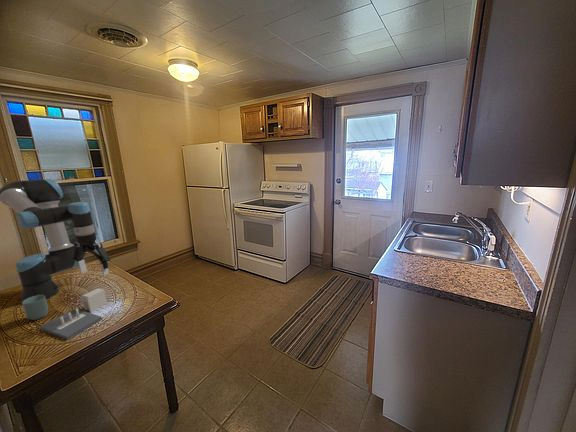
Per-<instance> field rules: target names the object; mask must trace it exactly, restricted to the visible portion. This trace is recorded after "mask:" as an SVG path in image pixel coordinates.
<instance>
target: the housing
mask: <svg viewBox="0 0 576 432" xmlns="http://www.w3.org/2000/svg"><path fill="white" fill-rule="evenodd" d="M80 298H81V303H82V306H83V311H88V313H92V312H94V311H95V310H97V309H100V308H101V307H104V306H105V305H106V304H108V301H107V296H106V292H105V289H103V288H99V287H98V288H96V289H94V290H92V291H89V292H87V293H85V294H83V295H81V296H80Z"/></svg>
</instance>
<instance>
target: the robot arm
mask: <svg viewBox="0 0 576 432" xmlns="http://www.w3.org/2000/svg"><path fill="white" fill-rule="evenodd" d="M63 196H64V195H63V191H62V188H61V186H60V185H59V183H57V181H55V180H54V179H51V178H41V179H29V180H15V181H11V182H9V183H6V184H5V185H3V186H1V187H0V202H1V203H2V204H3V205H5V206H7V207H10V208H11V209H12V210H13V211H14V212H16V214H17V215H16V218H17V222H18V224H19V226H20V228H22V229H24V230H25V229H26V230H27V229H31V228H32V229H33V228H34V229H35V228H38V227H43V229H44V230H45V231H44V232H45V234H46V237H47V241H48V243H49V246H50V248H49V249H48V250H47V252H48V254H45V253H42V252H40V253H34V254H31V255H28V256H25V257H23V258H22V259H21V258H20V259H19V260H18V261H17V262H16V264H15V268H16V272H17V275H18V277H19V280H20V283H21V286H22V288H21V289H22V290H21V294H20V295H21V296H20V298H21V299H20V300H21V303H22V302H23V301H24V300H25V299H27V298H30V297H33V296H36V295H44V296H45V298H46V300H47V299H49V298H52V297H53V296H55V295H56V294H58V293H59V292H60V287H59V285H58V284H57V283H56V282H55V281H54V280H53V278H52V275H53V274H57V273H61V272H64V271H65V270H70V269H73V268H75V267H78V268H79V272H80V274H82V275H83V274H84V273H86V272H88V269H87V266H86V261H85V259H84V258H85V256H86V253H90V254H92V255H94V256H95V258H97V260H98V261H99V262H100V263H99V265H100V268H101V273H102V276H103V277H104V276H106V275H109V274H110V272H109V264H108V262H110V261H111V258H110V256H109V255H108V253H107V251H106V250H105V248H104V247H103V244H102V243H101V242H99V243H96V240H97V234H96V232H95V231H96V229H95V226H94V222H93V217H92V213H91V207H90V205H89V203H88V202H86V201H78V202H77V201H76V202H70V203H69V204H64V205H62V206H61V205H60V206H59V203H60V202H61V198H63ZM64 222H71V224H72V227H73V231H74V235H75V239H76V242H74V243H71V241H70V238H69V236H68V233H67V232H68V231H67V229H66V225H65V223H64Z"/></svg>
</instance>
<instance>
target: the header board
mask: <svg viewBox="0 0 576 432" xmlns="http://www.w3.org/2000/svg"><path fill="white" fill-rule="evenodd" d="M102 320H103V316H101V315H98V314H94V313H92V312H89V311H88V312H86V310H80V309H79V308H73V309H71V310H70V311H68V312H67V311H66V312H65V313H63V314H61V315H59V316H57V317H55V318H54V319H52V320H50V321H48V322H45V323H44V324H42V325H40V326H39V329H40V330H41V331H44V332H47V333H48V334H51V335H54V336H56V337H60V338H62V339H64V340H67V341H69V340H70V339H72V338H73V337H75V336H77V335H79V334H81V333H82V332H83V331H86V330H87V329H89V328H91V327H92V326H93V325H96V324H97V323H98V322H100V321H102Z"/></svg>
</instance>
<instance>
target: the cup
mask: <svg viewBox="0 0 576 432" xmlns="http://www.w3.org/2000/svg"><path fill="white" fill-rule="evenodd" d="M21 306H22V309H23V312H24V314H25V316H26V317H27V319H28V320H30V321H37V320H40V319H42V318H44V317H46V316H47V314H48V312H49V305H48V302H47V299H46V298H45V296H44V295H36V296H33V297H30V298H27V299H25V300H24V301H23V302H22V301H21Z"/></svg>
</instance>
